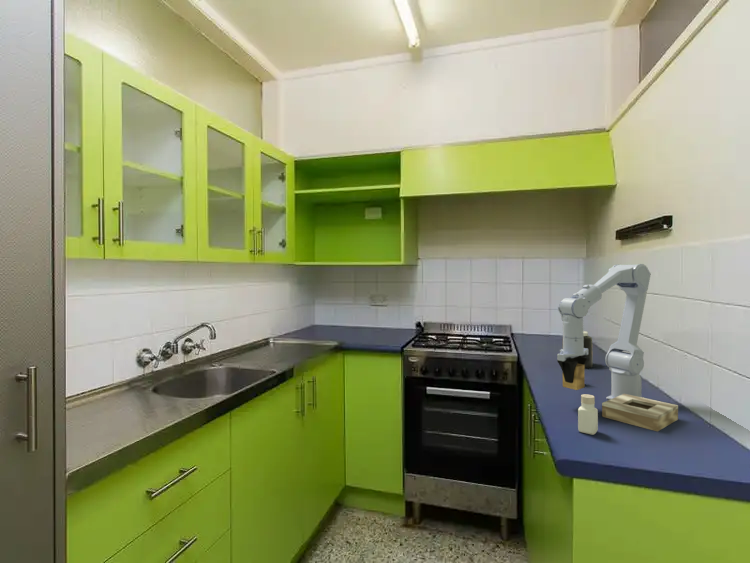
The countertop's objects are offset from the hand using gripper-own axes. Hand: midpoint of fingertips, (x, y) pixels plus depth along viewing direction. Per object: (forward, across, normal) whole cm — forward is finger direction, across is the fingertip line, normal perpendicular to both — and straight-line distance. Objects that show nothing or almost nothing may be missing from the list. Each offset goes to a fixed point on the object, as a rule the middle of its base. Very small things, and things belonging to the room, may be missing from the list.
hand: (573, 380), depth 125 cm
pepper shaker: (+9, +15, +12) cm, 21 cm away
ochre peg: (+2, 0, 0) cm, 2 cm away
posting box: (+8, -6, +16) cm, 19 cm away
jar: (+9, -54, -28) cm, 61 cm away
